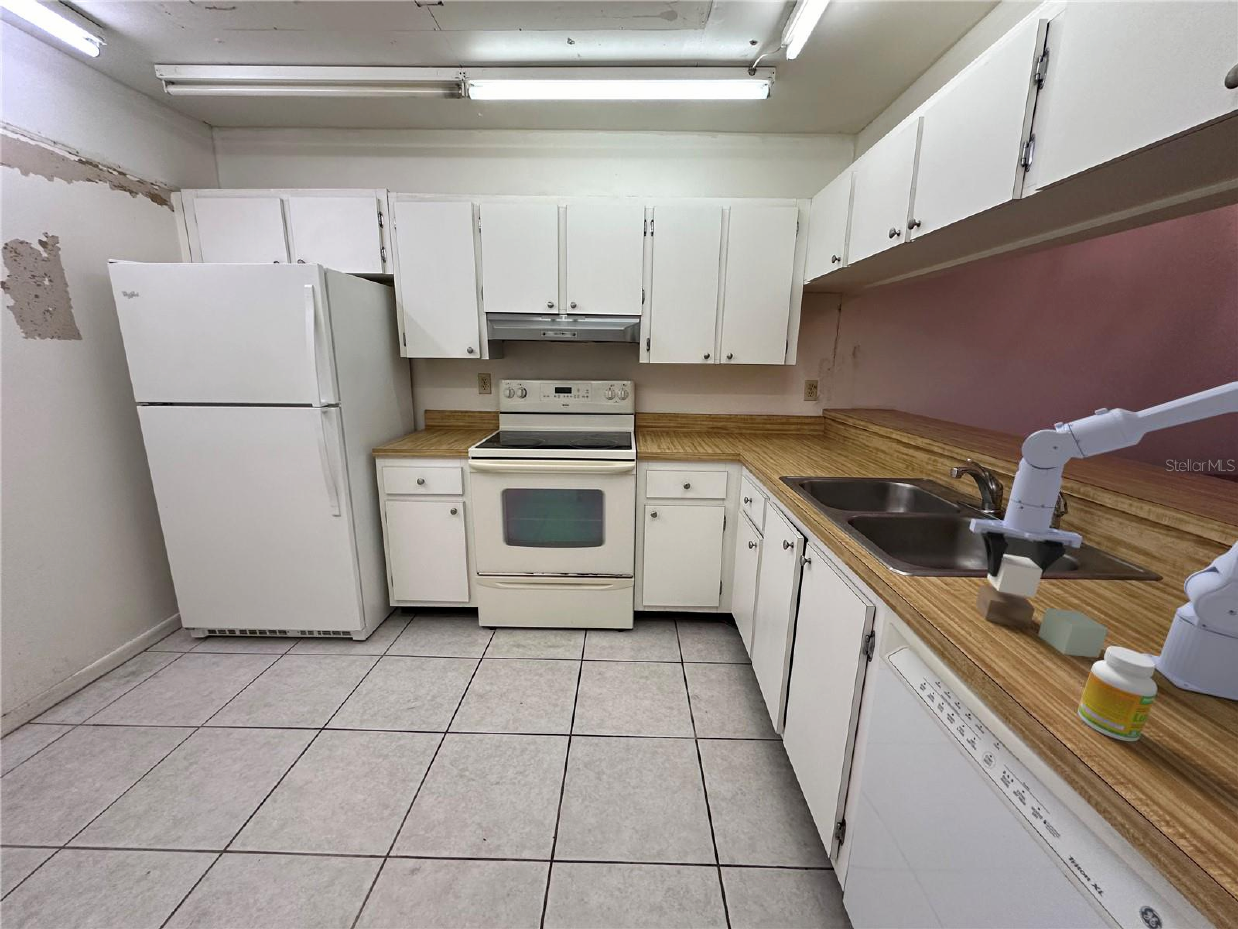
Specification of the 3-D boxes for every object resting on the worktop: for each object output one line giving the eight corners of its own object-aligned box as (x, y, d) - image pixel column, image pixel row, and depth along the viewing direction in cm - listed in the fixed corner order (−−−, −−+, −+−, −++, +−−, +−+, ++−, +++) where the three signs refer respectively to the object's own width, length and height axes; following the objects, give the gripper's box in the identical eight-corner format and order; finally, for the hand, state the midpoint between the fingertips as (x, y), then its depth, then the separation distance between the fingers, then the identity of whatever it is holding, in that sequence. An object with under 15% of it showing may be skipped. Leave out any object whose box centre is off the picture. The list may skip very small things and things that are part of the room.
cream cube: (1021, 584, 82) (1028, 557, 80) (1034, 597, 77) (1042, 570, 76) (986, 578, 83) (993, 552, 82) (998, 591, 79) (1005, 564, 77)
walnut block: (1016, 613, 83) (1021, 593, 82) (1028, 630, 78) (1034, 608, 77) (975, 604, 86) (980, 584, 85) (985, 620, 80) (990, 599, 79)
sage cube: (1070, 638, 76) (1079, 611, 75) (1098, 658, 71) (1108, 629, 70) (1037, 635, 76) (1046, 608, 75) (1063, 654, 72) (1072, 625, 70)
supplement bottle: (1134, 750, 54) (1162, 677, 51) (1071, 720, 58) (1094, 651, 56) (1142, 730, 57) (1168, 660, 55) (1082, 703, 61) (1104, 637, 59)
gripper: (988, 502, 76) (969, 578, 79) (1102, 517, 71) (1077, 597, 74) (973, 491, 82) (956, 562, 85) (1076, 504, 77) (1054, 578, 81)
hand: (1011, 577), depth 80 cm, fingers closed on cream cube, 5 cm apart
